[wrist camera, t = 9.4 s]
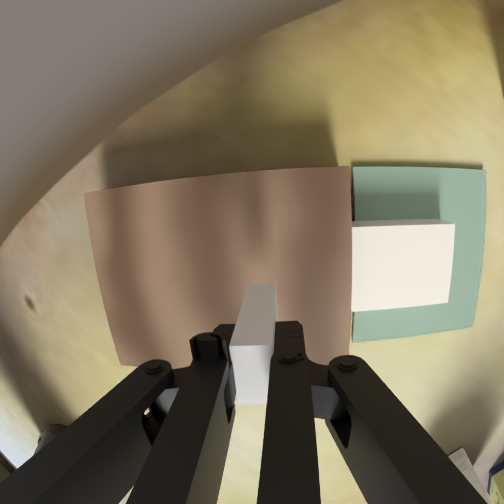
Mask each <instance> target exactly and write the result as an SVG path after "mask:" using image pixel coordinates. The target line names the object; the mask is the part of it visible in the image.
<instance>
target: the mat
mask: <svg viewBox="0 0 504 504" xmlns="http://www.w3.org/2000/svg"><path fill="white" fill-rule="evenodd" d="M352 177H353V197H354V221H371V220H404V219H443V220H445V221H448V222H451V223H454V224H455V236H454V251H453V263H452V274H451V282H450V290H449V298H448V303H442V304H433V305H424V306H414V307H404V308H394V309H382V310H370V311H357V312H353V330H352V342H353V343H354V342H365V341H375V340H385V339H394V338H402V337H410V336H418V335H425V334H432V333H439V332H445V331H451V330H457V329H463V328H469V327H472V326H473V321H474V316H475V311H476V305H477V299H478V293H479V286H480V279H481V271H482V263H483V252H484V240H485V223H486V170H477V169H461V168H438V167H352Z"/></svg>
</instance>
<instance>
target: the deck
mask: <svg viewBox="0 0 504 504" xmlns="http://www.w3.org/2000/svg"><path fill="white" fill-rule="evenodd" d="M84 194H85V202H86V210H87V218H88V225H89V232H90V238H91V244H92V250H93V255H94V261H95V266H96V271H97V276H98V281H99V285H100V290H101V294H102V299H103V303H104V307H105V311H106V315H107V319H108V323H109V327H110V330H111V334H112V338H113V341H114V345H115V348H116V351H117V355H118V358H119V361H120V364H121V365H127V366H136V367H138V366H140V365H141V364H143V363H144V362H147V361H150V360H153V359H154V360H155V359H161V360H166V361H168V362H169V363H170V364H171V366H172V369H177V368H183V367H188V366H190V364H191V362H192V360H193V358H192V353H191V348H190V342H189V340H190V339H191V338H192V337H193V336H195V335H197V334H201V333H205V332H213V330H214V329H215V328H216V327H217V326H218V325H220V324H236V322H237V319H238V316H239V312H240V309H241V306H242V303H243V299H244V296H245V293H246V290H247V286H248V284H263V283H276V291H277V308H278V321H298V322H299V323H301V324H302V325H303V333H304V341H305V350H306V355H307V357H308V359H309V360H311V361H312V362H315V363H317V364H322V365H328V364H329V362H330V361H331V360H332V359H333V358H335V357H338V356H342V355H349V341H350V324H351V299H352V214H351V189H350V171H349V166H337V167H310V168H291V169H275V170H261V171H248V172H237V173H226V174H216V175H207V176H198V177H189V178H181V179H173V180H165V181H158V182H151V183H144V184H137V185H131V186H124V187H118V188H112V189H106V190H100V191H95V192H89V193H84Z"/></svg>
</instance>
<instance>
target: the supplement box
mask: <svg viewBox="0 0 504 504" xmlns="http://www.w3.org/2000/svg"><path fill="white" fill-rule="evenodd" d="M448 457H449V458H450V460H451V461H452V462H453V463H454V464H455V465H456V467H457V468H458V469H459V470H460V471H461V473H462V474H463V475H464V476H465V477H466V478H467V480H468V481H469V482H470V483H471V484H472V486H473V487H474V488H475V489H476V490H477V491H478V493H479V494H480V495H481V496H482V497H483V499H484V500H485V501H486V502H487V503H488V504H489V502H488V499H487V497H486V494H485V492H484V490H483V487H482V485H481V483H480V481H479V478H478V476H477V474H476V472H475V470H474V468H473V466H472V464H471V462H470V460H469V458H468V456H467V454H466V452H465V450H464V448H463V447H462V448H460V449H459V450H457V451H456V452H454V453H452V454H451V455H449V456H448Z"/></svg>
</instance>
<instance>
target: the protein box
mask: <svg viewBox="0 0 504 504" xmlns="http://www.w3.org/2000/svg"><path fill="white" fill-rule="evenodd" d="M487 492H488V494H489V496H490V498H491V501H492V503H493V504H504V461H503V462H502V463H500V464H499V465H497V466H496V467H494V468H492V469H491V470H490V471H489V481H488V490H487Z"/></svg>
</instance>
